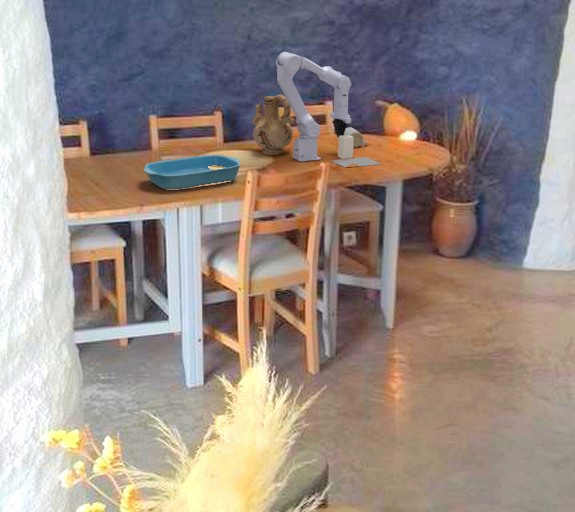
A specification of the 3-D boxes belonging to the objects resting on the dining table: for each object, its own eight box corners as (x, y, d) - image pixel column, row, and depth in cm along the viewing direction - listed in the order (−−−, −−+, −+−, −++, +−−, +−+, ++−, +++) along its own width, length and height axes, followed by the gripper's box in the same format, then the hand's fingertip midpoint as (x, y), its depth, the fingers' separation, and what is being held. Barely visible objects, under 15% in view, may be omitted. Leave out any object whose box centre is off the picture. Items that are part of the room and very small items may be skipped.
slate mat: (345, 168, 346) (345, 167, 346) (331, 161, 357) (331, 160, 357) (381, 164, 352) (381, 163, 352) (366, 157, 363) (366, 157, 363)
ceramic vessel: (294, 148, 379) (294, 89, 371) (296, 158, 361) (296, 97, 353) (251, 148, 379) (250, 89, 370) (251, 158, 361) (250, 97, 352)
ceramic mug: (348, 148, 379) (349, 131, 376) (340, 145, 386) (341, 127, 383) (370, 147, 382) (371, 129, 380) (362, 143, 390) (362, 126, 387)
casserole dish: (158, 196, 307) (158, 176, 305) (134, 182, 325) (133, 163, 323) (251, 182, 326) (251, 163, 323) (223, 170, 343) (223, 152, 341)
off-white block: (343, 159, 360) (343, 137, 357) (338, 157, 364) (338, 135, 361) (352, 158, 361) (353, 137, 358) (347, 156, 365) (348, 134, 362)
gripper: (358, 107, 355) (357, 140, 360) (341, 101, 368) (340, 133, 372) (342, 108, 352) (341, 141, 357) (326, 102, 365) (325, 135, 369)
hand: (340, 137), depth 364 cm, fingers closed
